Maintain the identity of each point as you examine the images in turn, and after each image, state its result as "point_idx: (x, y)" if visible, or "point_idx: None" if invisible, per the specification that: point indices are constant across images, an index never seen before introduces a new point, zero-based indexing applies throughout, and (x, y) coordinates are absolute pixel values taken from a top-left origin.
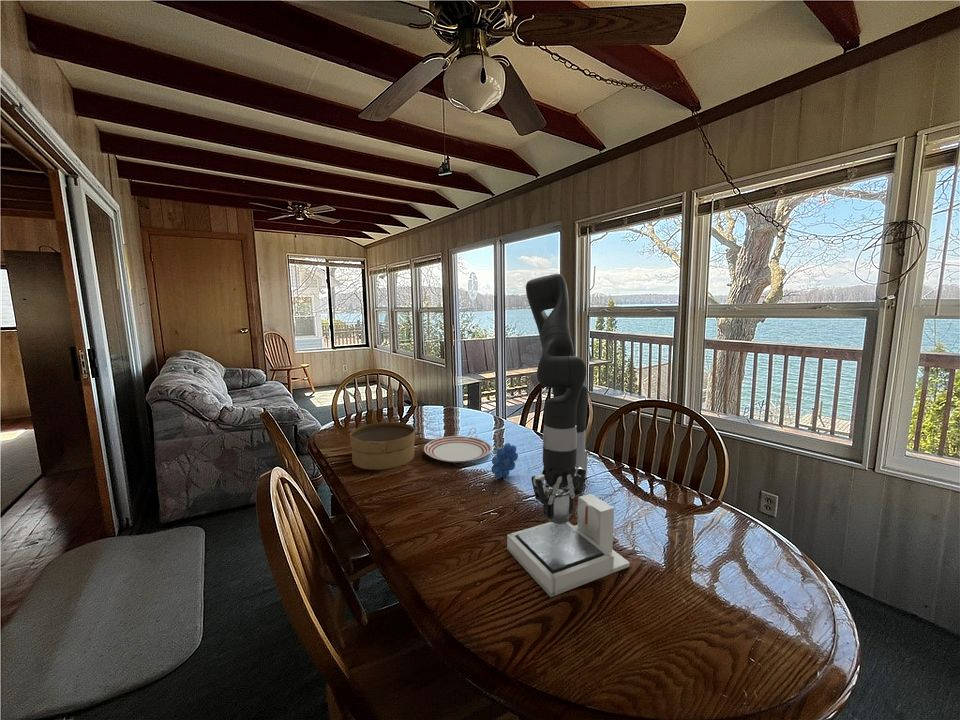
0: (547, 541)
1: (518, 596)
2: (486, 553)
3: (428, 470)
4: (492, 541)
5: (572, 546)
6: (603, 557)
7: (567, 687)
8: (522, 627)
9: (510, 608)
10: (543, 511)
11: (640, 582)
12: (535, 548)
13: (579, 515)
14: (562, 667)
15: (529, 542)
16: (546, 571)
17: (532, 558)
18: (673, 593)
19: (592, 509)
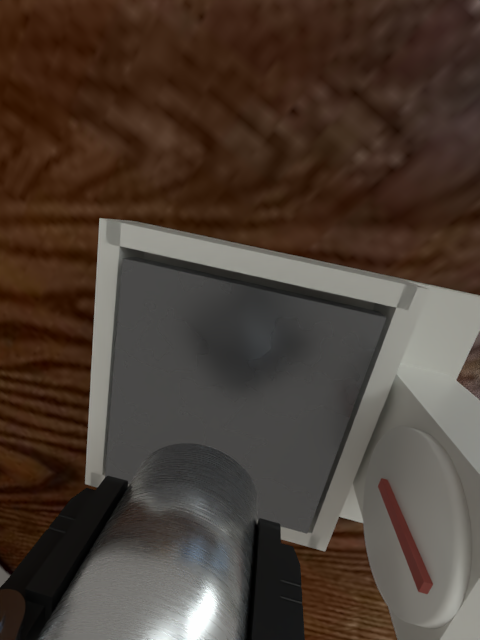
0: (196, 378)
1: (51, 395)
2: (61, 189)
3: None
4: (117, 135)
5: (248, 456)
6: (292, 534)
7: (18, 558)
8: (14, 454)
9: (16, 407)
10: (64, 510)
11: (337, 553)
12: (126, 377)
13: (414, 450)
14: (31, 539)
15: (131, 337)
16: (94, 459)
17: (95, 394)
18: (358, 607)
19: (416, 623)
